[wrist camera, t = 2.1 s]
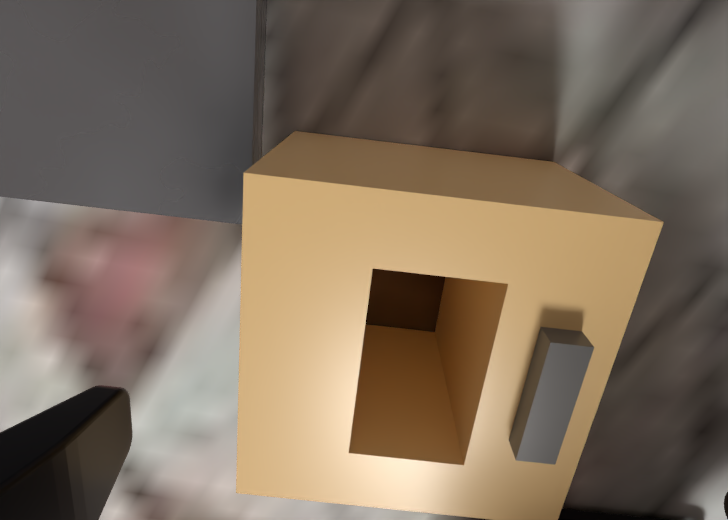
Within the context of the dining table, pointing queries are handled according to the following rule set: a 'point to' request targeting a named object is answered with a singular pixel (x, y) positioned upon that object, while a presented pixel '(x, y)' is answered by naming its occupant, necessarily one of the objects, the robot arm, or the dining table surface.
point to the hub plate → (132, 103)
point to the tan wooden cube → (424, 348)
